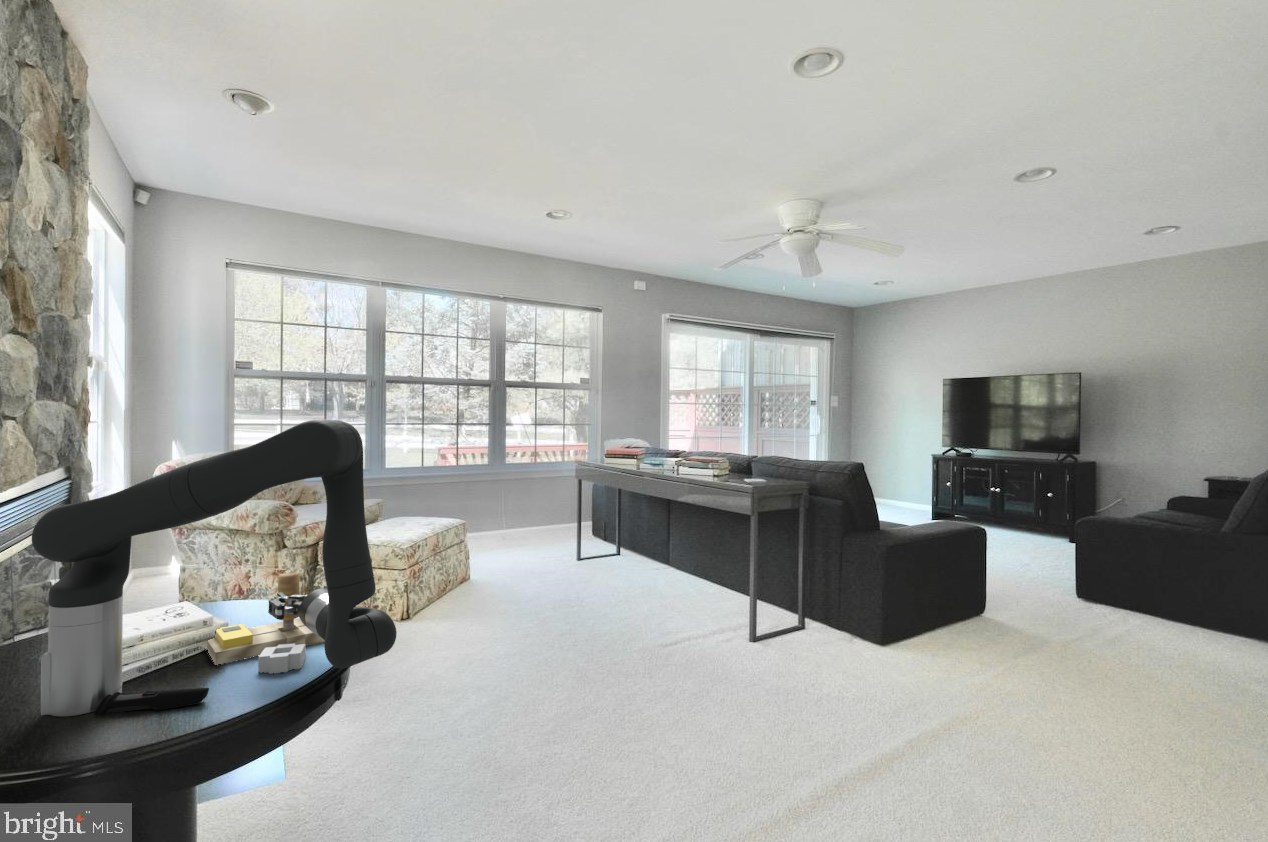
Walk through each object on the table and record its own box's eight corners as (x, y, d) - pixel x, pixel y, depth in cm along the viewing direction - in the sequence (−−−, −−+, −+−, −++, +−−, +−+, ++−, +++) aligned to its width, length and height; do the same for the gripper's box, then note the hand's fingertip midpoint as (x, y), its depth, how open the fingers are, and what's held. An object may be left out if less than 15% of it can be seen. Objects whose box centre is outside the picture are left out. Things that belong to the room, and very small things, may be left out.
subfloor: (215, 665, 120) (215, 652, 120) (204, 648, 129) (204, 636, 129) (327, 641, 133) (327, 629, 133) (310, 627, 142) (310, 616, 142)
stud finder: (223, 648, 122) (223, 639, 122) (214, 636, 129) (214, 628, 129) (252, 642, 125) (252, 634, 125) (242, 631, 132) (242, 623, 132)
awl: (280, 645, 131) (280, 578, 131) (275, 640, 134) (275, 574, 134) (301, 640, 134) (301, 575, 133) (296, 635, 136) (296, 571, 136)
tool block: (256, 675, 116) (257, 658, 116) (266, 661, 122) (266, 645, 122) (299, 670, 118) (299, 654, 118) (306, 657, 124) (306, 642, 124)
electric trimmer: (202, 711, 102) (203, 692, 102) (92, 718, 99) (92, 698, 99) (212, 701, 106) (213, 682, 106) (106, 708, 103) (106, 688, 103)
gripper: (369, 586, 118) (340, 570, 130) (285, 600, 109) (262, 580, 121) (368, 626, 118) (339, 606, 130) (284, 643, 109) (261, 619, 121)
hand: (302, 594), depth 126 cm, fingers open, 8 cm apart
